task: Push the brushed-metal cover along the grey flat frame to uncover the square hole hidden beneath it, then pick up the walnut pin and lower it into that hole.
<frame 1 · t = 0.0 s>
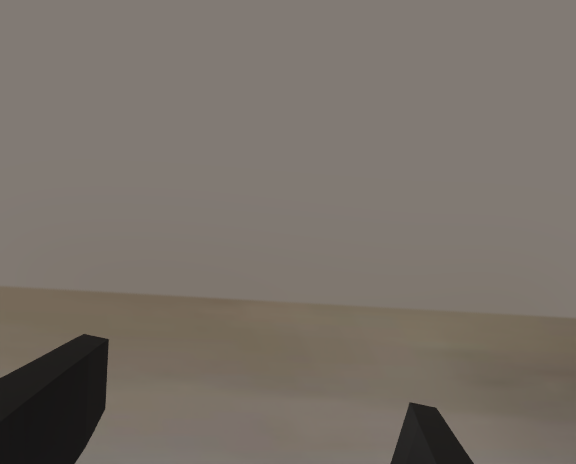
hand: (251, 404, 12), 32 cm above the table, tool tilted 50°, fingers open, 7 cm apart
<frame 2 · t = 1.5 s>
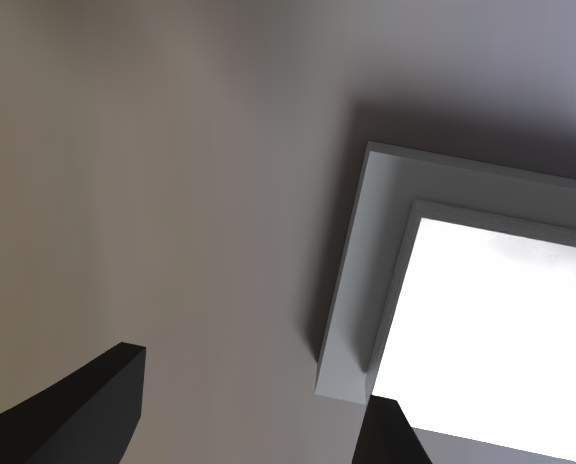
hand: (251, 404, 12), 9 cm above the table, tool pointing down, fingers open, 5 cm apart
grey flat frame: (564, 306, 20), on the table
sliding cover: (498, 332, 18), point 3 cm above the table, slide at 0.0 cm
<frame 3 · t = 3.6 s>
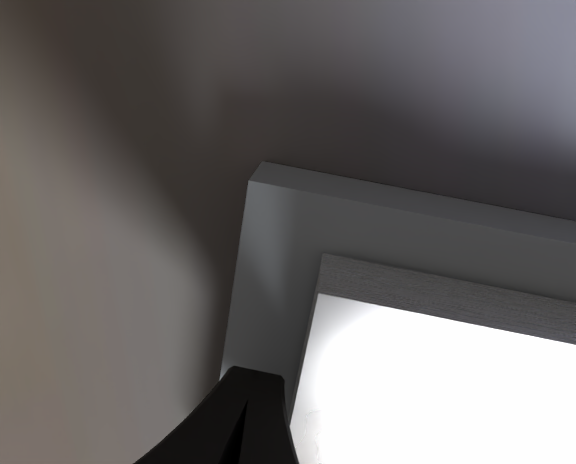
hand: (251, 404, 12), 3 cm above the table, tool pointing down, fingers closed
grey flat frame: (544, 390, 15), on the table
sliding cover: (450, 449, 12), point 3 cm above the table, slide at 0.2 cm, touching gripper
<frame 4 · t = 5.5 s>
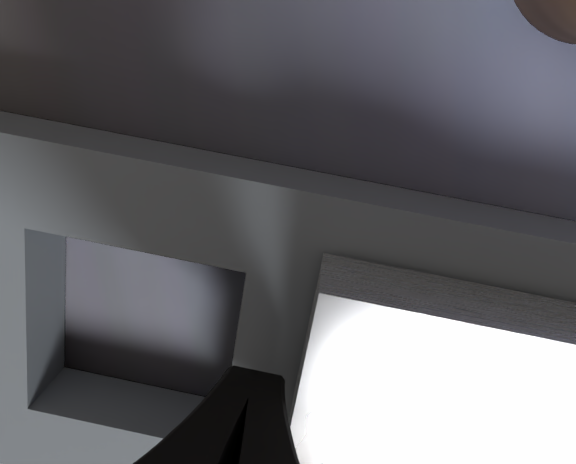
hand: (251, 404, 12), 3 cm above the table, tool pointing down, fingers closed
grey flat frame: (270, 333, 15), on the table
sliding cover: (451, 448, 12), point 3 cm above the table, slide at 8.2 cm, touching gripper
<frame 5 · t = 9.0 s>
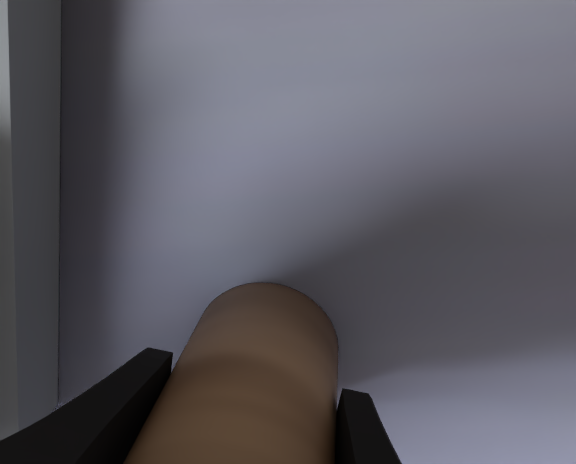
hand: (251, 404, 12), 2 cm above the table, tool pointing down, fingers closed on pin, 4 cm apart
pin: (266, 347, 14), on the table, touching gripper
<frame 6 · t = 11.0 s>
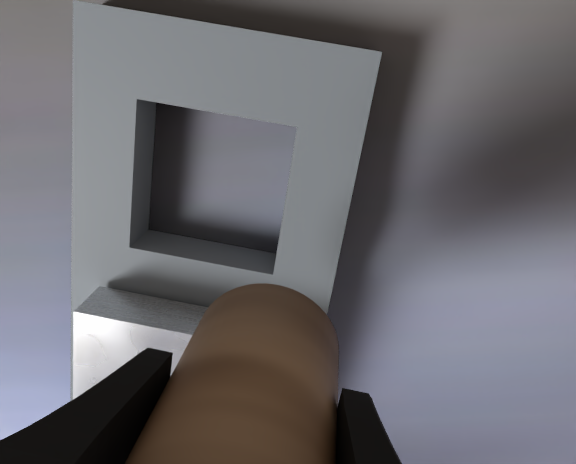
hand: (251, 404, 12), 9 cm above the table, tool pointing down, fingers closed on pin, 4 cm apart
grey flat frame: (211, 258, 21), on the table
sliding cover: (178, 401, 20), point 3 cm above the table, slide at 8.2 cm
pin: (266, 348, 14), point 7 cm above the table, touching gripper
when the fingers open (4 cm above the table, at t = 13.1 s): pin drops 1 cm, resting in grey flat frame.
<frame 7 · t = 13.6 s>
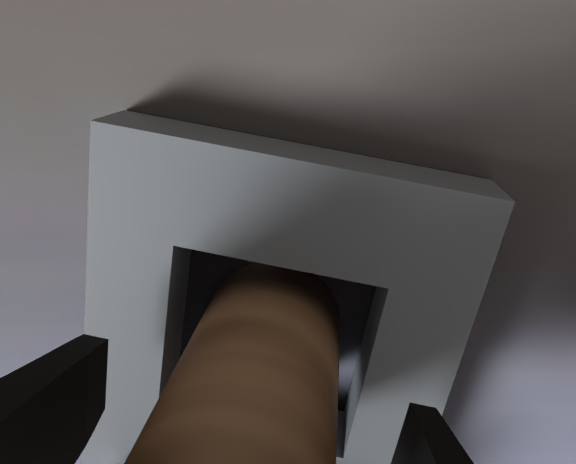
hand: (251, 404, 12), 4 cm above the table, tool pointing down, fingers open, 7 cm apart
grey flat frame: (257, 412, 17), on the table
pin: (274, 320, 16), resting in grey flat frame
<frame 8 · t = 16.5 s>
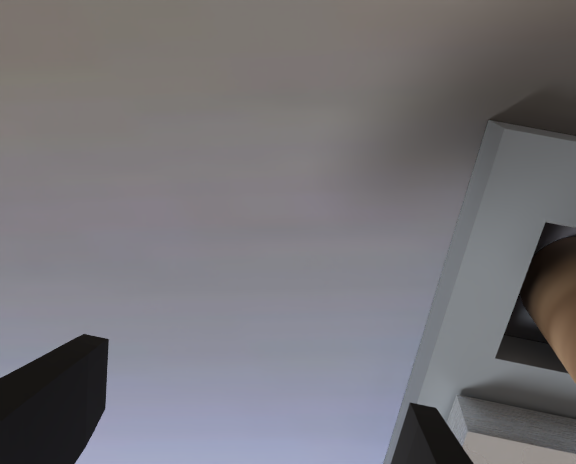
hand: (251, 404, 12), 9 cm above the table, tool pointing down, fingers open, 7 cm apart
grey flat frame: (542, 359, 21), on the table
pin: (573, 284, 20), resting in grey flat frame
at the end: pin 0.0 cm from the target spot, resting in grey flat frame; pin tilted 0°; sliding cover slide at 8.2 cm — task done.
